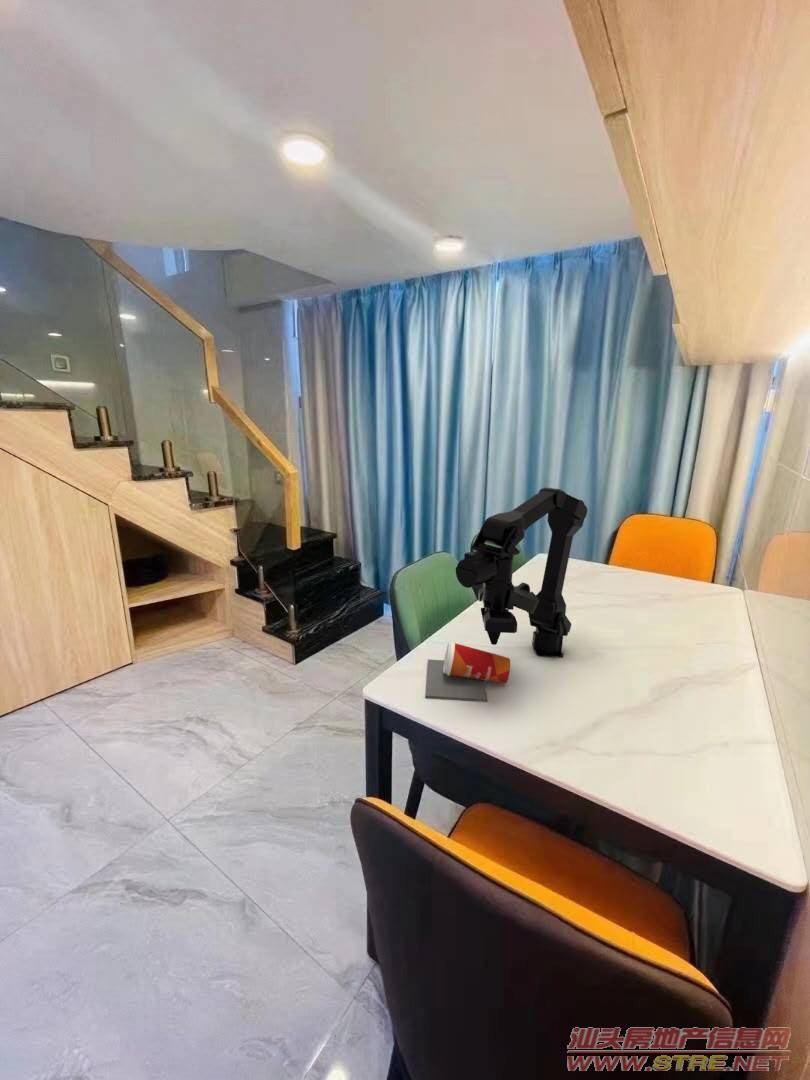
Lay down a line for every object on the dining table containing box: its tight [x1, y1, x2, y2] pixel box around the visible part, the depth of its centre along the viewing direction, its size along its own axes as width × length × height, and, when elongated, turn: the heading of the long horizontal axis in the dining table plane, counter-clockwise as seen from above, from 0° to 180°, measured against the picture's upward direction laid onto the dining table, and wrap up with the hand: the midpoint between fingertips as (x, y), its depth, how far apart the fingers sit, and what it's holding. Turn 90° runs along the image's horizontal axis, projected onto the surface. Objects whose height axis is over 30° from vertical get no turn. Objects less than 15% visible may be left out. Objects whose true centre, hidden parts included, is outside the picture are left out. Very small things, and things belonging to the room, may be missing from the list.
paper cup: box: [443, 641, 511, 684], centre depth 99 cm, size 8×8×14 cm
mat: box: [425, 659, 488, 703], centre depth 100 cm, size 13×15×1 cm
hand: (493, 643), depth 97 cm, fingers closed
